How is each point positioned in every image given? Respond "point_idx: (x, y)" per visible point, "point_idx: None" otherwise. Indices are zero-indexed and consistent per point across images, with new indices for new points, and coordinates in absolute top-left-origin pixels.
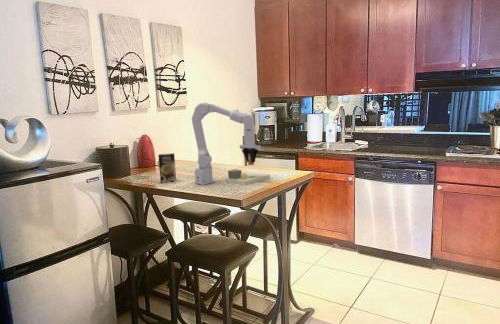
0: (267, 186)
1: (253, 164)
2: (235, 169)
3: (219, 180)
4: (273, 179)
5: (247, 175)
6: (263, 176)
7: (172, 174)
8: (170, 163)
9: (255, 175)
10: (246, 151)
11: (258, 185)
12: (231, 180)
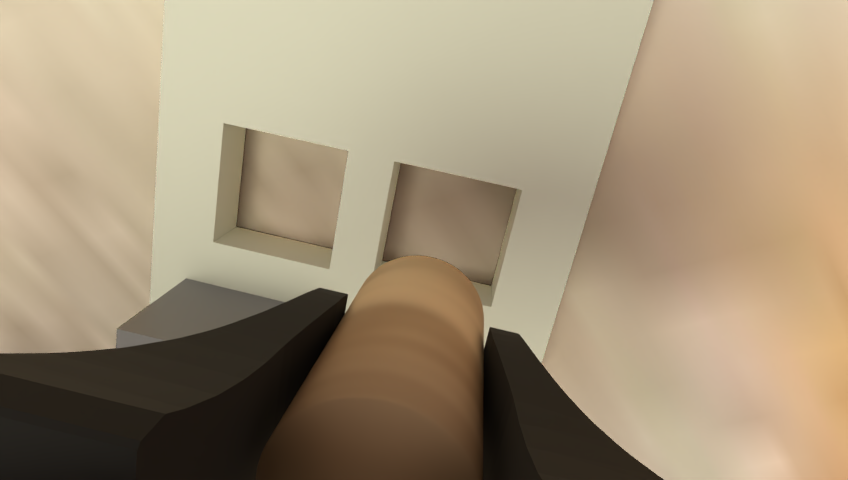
0: (836, 453)
1: (483, 319)
2: (132, 334)
3: (32, 328)
4: (751, 26)
5: (295, 138)
6: (613, 129)
7: None
8: None
9: (429, 99)
10: None
11: (689, 435)
12: None
